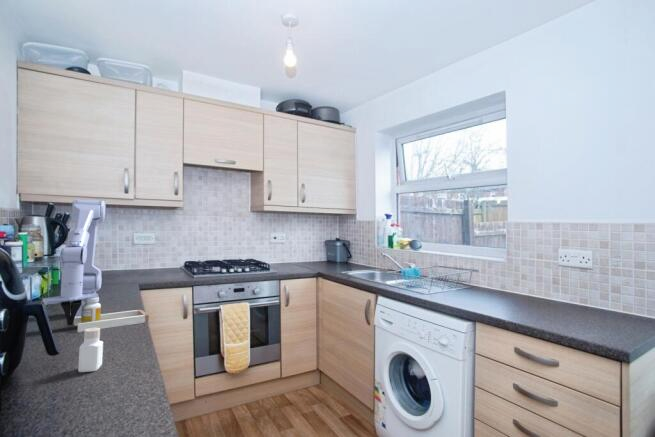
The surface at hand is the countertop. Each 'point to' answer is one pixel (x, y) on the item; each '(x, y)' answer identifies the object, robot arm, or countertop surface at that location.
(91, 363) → the white square pill bottle
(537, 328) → the countertop surface
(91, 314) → the supplement bottle
